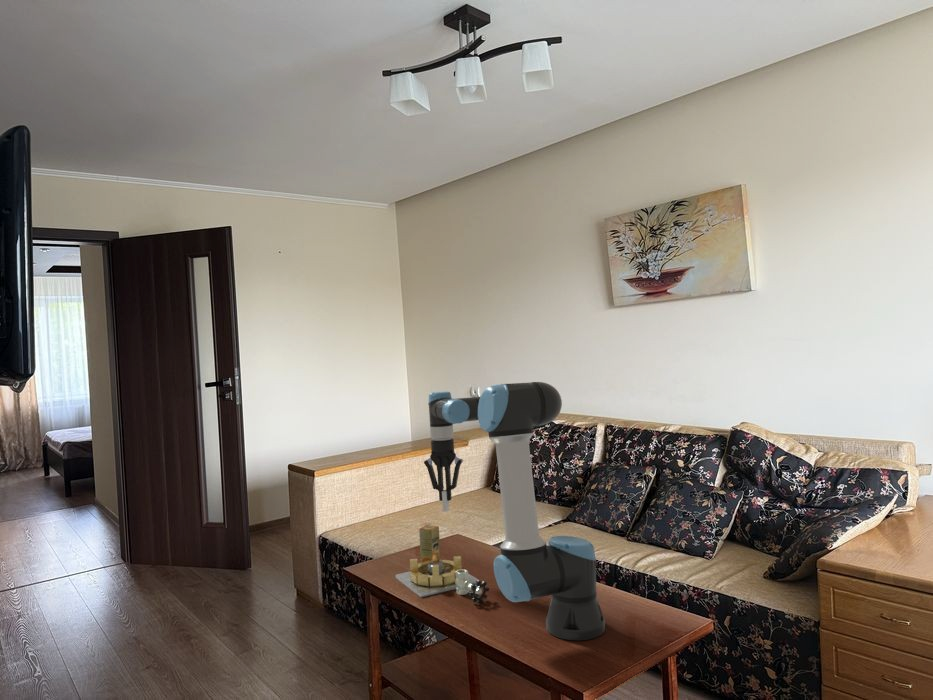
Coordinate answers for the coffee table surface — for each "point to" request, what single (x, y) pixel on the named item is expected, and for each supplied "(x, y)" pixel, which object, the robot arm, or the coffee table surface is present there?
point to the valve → (469, 586)
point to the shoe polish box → (429, 542)
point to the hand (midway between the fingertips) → (446, 510)
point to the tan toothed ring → (434, 571)
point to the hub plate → (429, 590)
